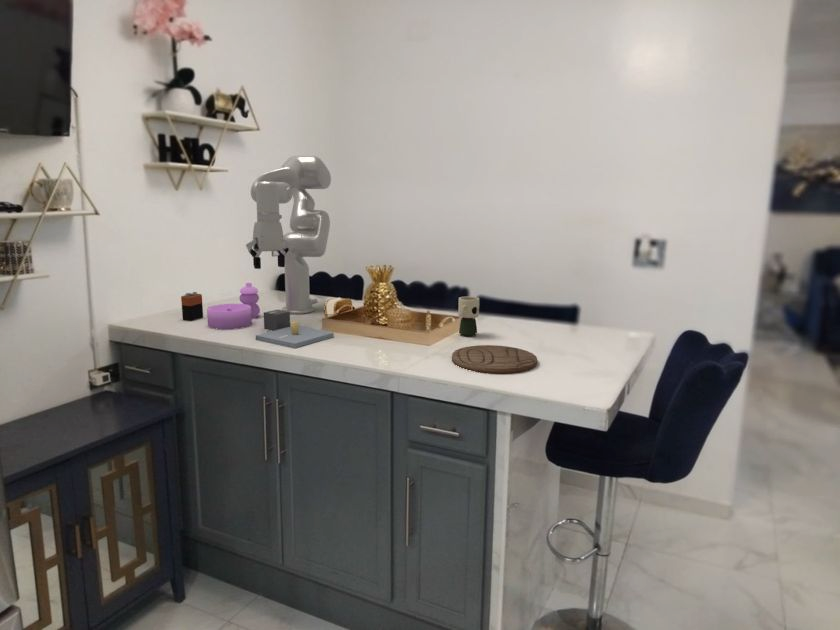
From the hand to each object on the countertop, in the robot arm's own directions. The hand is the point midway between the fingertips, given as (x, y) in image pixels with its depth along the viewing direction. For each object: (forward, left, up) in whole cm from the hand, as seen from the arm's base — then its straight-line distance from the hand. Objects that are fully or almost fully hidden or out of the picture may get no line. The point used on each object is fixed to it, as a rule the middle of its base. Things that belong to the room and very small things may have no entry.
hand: (269, 267), depth 212 cm
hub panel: (+6, +17, -22) cm, 28 cm away
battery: (+8, -35, -22) cm, 42 cm away
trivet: (-10, +83, -22) cm, 87 cm away
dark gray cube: (0, +2, -22) cm, 22 cm away
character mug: (-33, +61, -22) cm, 73 cm away
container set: (+1, -18, -22) cm, 28 cm away
